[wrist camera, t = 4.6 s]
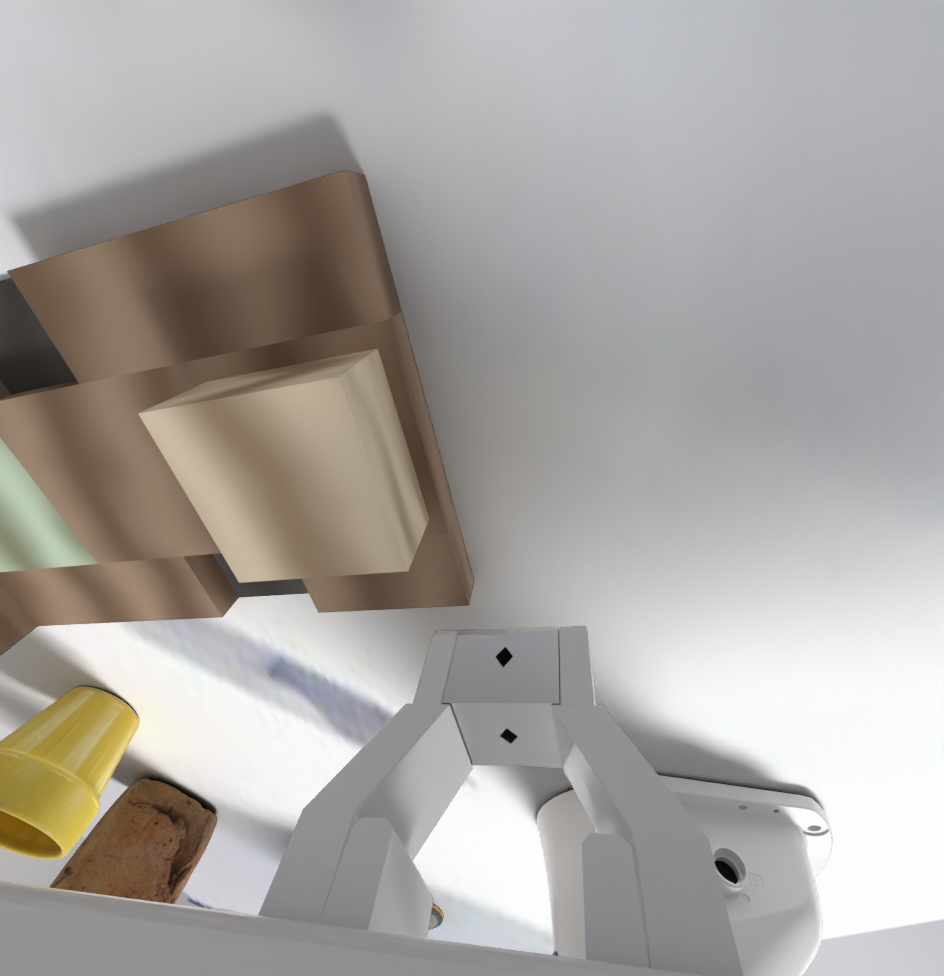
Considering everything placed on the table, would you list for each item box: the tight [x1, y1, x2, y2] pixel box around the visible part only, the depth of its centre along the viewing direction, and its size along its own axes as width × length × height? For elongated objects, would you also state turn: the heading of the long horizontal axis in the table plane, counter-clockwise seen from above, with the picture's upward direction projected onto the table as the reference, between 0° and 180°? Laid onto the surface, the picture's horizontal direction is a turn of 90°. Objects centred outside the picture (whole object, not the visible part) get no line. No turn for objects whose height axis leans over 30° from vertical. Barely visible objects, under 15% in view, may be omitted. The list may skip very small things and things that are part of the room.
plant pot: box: [0, 687, 139, 860], centre depth 37 cm, size 10×10×10 cm
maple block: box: [138, 349, 430, 583], centre depth 20 cm, size 8×8×4 cm
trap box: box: [0, 170, 474, 656], centre depth 24 cm, size 34×20×5 cm, turn 102°
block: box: [49, 778, 217, 904], centre depth 41 cm, size 11×8×20 cm
